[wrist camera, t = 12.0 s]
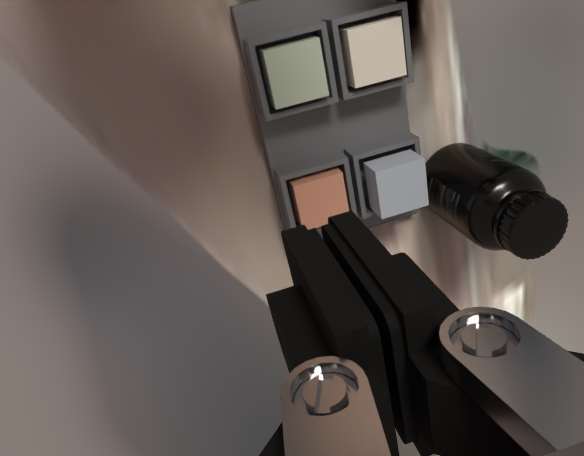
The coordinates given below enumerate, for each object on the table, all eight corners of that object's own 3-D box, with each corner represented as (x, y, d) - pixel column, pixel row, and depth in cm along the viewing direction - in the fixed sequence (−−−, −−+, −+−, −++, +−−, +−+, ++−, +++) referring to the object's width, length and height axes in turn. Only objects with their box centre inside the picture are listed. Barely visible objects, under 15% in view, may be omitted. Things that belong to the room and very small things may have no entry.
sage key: (256, 48, 35) (262, 51, 33) (309, 35, 36) (319, 37, 34) (269, 103, 37) (276, 109, 35) (319, 89, 38) (329, 95, 35)
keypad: (230, 6, 35) (235, 6, 32) (386, -31, 36) (406, -34, 33) (288, 245, 44) (297, 263, 41) (411, 207, 46) (429, 222, 43)
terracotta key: (286, 176, 40) (293, 186, 38) (332, 162, 40) (342, 172, 38) (296, 219, 42) (303, 231, 39) (340, 206, 42) (350, 217, 40)
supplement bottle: (460, 220, 47) (545, 284, 37) (403, 198, 45) (476, 259, 34) (497, 155, 45) (599, 203, 35) (440, 129, 43) (530, 171, 32)
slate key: (363, 162, 39) (375, 172, 37) (410, 149, 39) (424, 158, 37) (370, 207, 41) (381, 219, 39) (414, 194, 41) (428, 205, 39)
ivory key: (335, 28, 36) (346, 30, 34) (386, 15, 36) (401, 16, 34) (344, 83, 38) (355, 88, 36) (392, 70, 38) (406, 74, 36)
